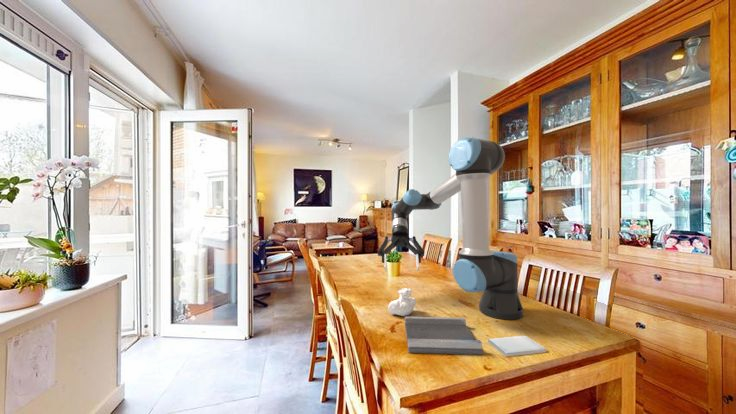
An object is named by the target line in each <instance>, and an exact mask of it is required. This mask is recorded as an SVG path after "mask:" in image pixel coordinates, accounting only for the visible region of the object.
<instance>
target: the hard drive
mask: <svg viewBox="0 0 736 414" xmlns="http://www.w3.org/2000/svg"><path fill="white" fill-rule="evenodd" d="M487 343H488V344H489V345H490V346H492V347H493V348H495V350H497V351H498V352H499V353H500V354H502V355H503V356H504V357H507V358H508V357H515V356H516V357H517V356H523V355H534V354H541V353H542V354H543V353H547V349H546V347H544V346H543V345H541V344H540V343H538V342H536V341H535V340H534V339H532V338H530V337H528V336H526V335H515V336H506V337H496V338H495V337H493V338H487Z"/></svg>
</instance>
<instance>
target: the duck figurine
mask: <svg viewBox="0 0 736 414" xmlns="http://www.w3.org/2000/svg"><path fill="white" fill-rule="evenodd" d="M397 294H398V295H399V297H398V299H395V300H392V301H390V303H389V304H388V307H387V311H388V313H389V314H390V315H398V316H400V317H401V316H402V317H408V315H409V316H410V314H412V312H414V308H415V306H416V305H417V301H416V298H414V297H411V296H412V288H407V287H404V288H402V289H399V290H397Z"/></svg>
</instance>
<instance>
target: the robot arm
mask: <svg viewBox="0 0 736 414" xmlns="http://www.w3.org/2000/svg"><path fill="white" fill-rule="evenodd" d="M505 158H506V154H505V151H504V149H503V147H502V146H501V145H500V143H498V142H496V141H493V140H492V141H491V140H486V139H480V138H477V137H462V138H459V139H458V140H457V141H456V142H454V143H453V146H451V147H450V150H449V153H448V164H449V166H450V167H451V169H453V170H454V171H455V174H453V175H452V176H451V177H449V178H447V179H446V180H445V181H443V182H441V184H438V186H436V187H435V188H434V189H432V190H430V191H429V192H428V193H423V194H422V193H420V192H419V191H418V190H416V189H414V188H413V189H412V188H410V189H408V190H407V191H406V192H405V193H404V194H403V196H402V197H401V199H400V200H399V201H398V202H395V203H393V204H392V206H391V210H390V211H391V213H390V214H391V237H389V236H388V235H387V236H384V237H385V239H384V241H383V242H382V243H381V245H380V247H379V249H378V250H377V256H378V257H381V263H382V264H384V265H383V267H384V268H383V269H384V271H387V255H388V254H389V253H390V252H391V251H392V250H393V249H395V248H404V247H405V248H407V249H408V250H409V251H410V252H412V253H413V254H414V255H415V263H416V264H415V265H416V271H417V272H419V271H420V264H421V263H422V257H424V256H425V250H424V248H422V246H421V245H420V243H419V242H418V241H417V238H416V236H413V235H412V237H410V236H409V230H408V229H409V228H408V227H409V226H408V216H409V215H410V214H411V213H412V212H413V211H417V210H418V211H419V210H420V211H421V210H436V209H437V210H438V209H439V208H440V207H441V206H442V203H443V202H446V201H447V200H448V199H451V198H452V197H453V196H455V195H456V194H458V193H459V192H460V197H461V199H460V200H461V229H462V231H461V232H462V248H461V249H460V250H459V251H458V260H456V261H455V263H454V264H453V266H452V276H453V279H454V280H455V282H456V284H457V285H458V286H459V288H461V289H462V290H463V291H465V292H467V293H481V292H482V294H481V297H480V300H479V303H478V310H479V311H480V312H481V313H482V314H483V315H485V316H489V317H491V318H494V319H501V320H511V321H512V320H518V319H519V320H520V319H522V318H523V317H524V308H523V305H522V302H521V299H520V296H519V294H518V293H519V292H518V290H519V289H518V287H519V286H518V265H519V262H518V257H517V255H516V254H515V253H512V252H508V251H507V252H506V251H499V250H491V249H490V248H489V247H490V246H489V245H490V244H489V243H490V242H489V241H490V239H489V221H488V220H489V215H488V192H487V189H488V188H487V187H488V186H487V180H488V178H490V176H492V175H493V174H495V173H497V171H499V170H500V169H501V167H502V166H503V164H504V162H505ZM390 242H391V243H390ZM410 242H411V243H412V244H411V243H410ZM388 243H389V245H388ZM387 245H388V246H387Z"/></svg>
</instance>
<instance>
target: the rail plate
mask: <svg viewBox="0 0 736 414" xmlns="http://www.w3.org/2000/svg"><path fill="white" fill-rule="evenodd" d="M404 327H405V335H406V344H407V351H408V354H435V355H436V354H438V355H441V354H442V355H469V356H471V355H473V356H474V355H475V356H477V355H478V356H483V354H484V351H483V343H482V341H481V340H477V339H476V338H475V337H474V335H473V333H472V332H471V331H470V329H469V328H468V326H467V319H466V318H465V317H452V316H451V317H450V316H449V317H448V316H444V317H443V316H440V317H439V316H404Z"/></svg>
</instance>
